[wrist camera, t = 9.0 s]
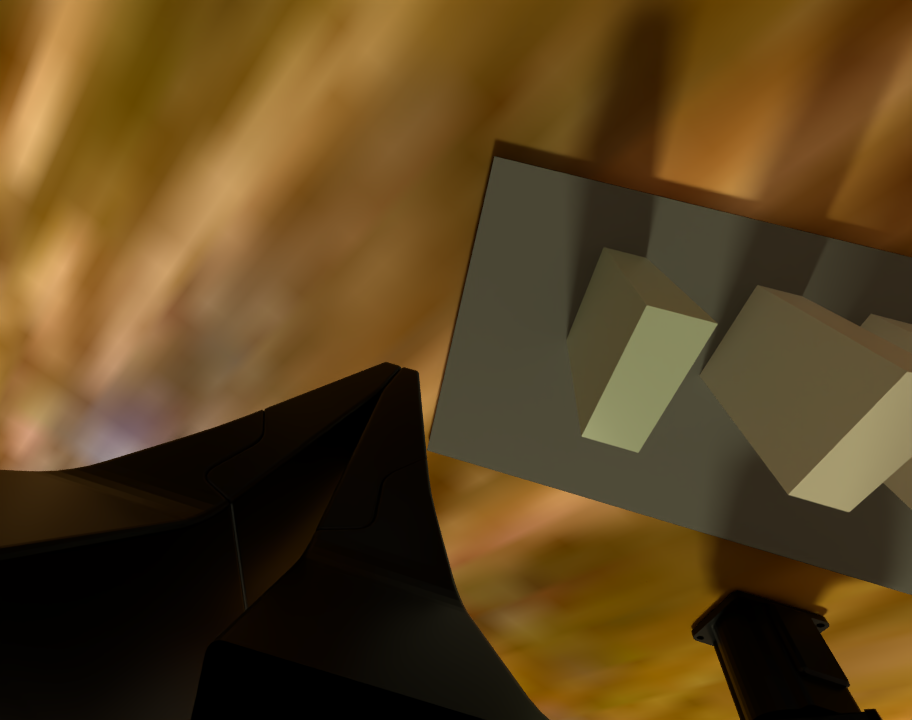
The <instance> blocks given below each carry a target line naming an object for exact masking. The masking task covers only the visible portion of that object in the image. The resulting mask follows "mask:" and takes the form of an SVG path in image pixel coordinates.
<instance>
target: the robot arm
mask: <svg viewBox="0 0 912 720" xmlns="http://www.w3.org/2000/svg"><path fill="white" fill-rule="evenodd" d="M828 627H829V623H828V622H827V620H826V619H825V617H823V616H821V615H817V614H814V613H811V612H808V611H804V610H801V609H798V608H795V607H791V606H788V605H785V604H781V603H778V602H775V601H772V600H768V599H765V598H762V597H759V596H755V595H752V594H749V593H746V592H742V591H736V592H733V593H731V594H730V595H729V596H728V597H727V598H726V599H725V600H724V601H723V602H722V603H721V604H720V605H719V606H718V607H716V608H715V609H714V610H713V611H712V612H711V613H710V614H709V615H708V616H707V617H706V618H705V619H704V620H703V621H702V622H700V623H699V624H698V625H697V626H696V627H695V628H694V629H693V630H692V631H691V632H692V635H693V638H694V639H695V640H696V641H699V642H703V643H706V644H709V645H712V646H714V648H715V651H716V654H717V656H718V659H719V662H720V665H721V667H722V670H723V673H724V676H725V678H726V681H727V684H728V687H729V690H730V692H731V695H732V698H733V701H734V703H735V706H736V709H737V712H738V714H739V717H740V720H883V719H882V718H881V717H880V715H879V714H878V712H877V711H876V709H864V711H865V712H861V711H860V709H859V707H858V705H857V704H856V702H855V700H854V699H853V697H852V695H851V693H850V692H849V690H848V687H849V686H850V684H849V681H848V679H847V677H846V676H845V674H844V672H843V671H842V669H841V667H840V666H839V664H838V662H837V661H836V659H835V657H834V656H833V654H832V652H831V651H830V649H829V647H828V645H827V644H826V642H825V640H824V639H823V637H822V635H821V634H820V633H821V632H822V631H824V630H825V629H827V628H828ZM0 720H549V719H548V718H547V717H546V716H545V715H544V714H543V713H541V712H540V710H539V709H538V708H537V707H536V706H535V705H534V703H533V702H532V701H531V700H530V699H529V698H528V696H527V695H526V693H525V692H524V691H523V689H522V688H521V686H520V685H519V684H518V682H517V681H516V679H515V678H514V677H513V675H512V674H511V672H510V671H509V670H508V668H507V667H506V666H505V664H504V663H503V661H502V660H501V659H500V657H499V656H498V654H497V653H496V652H495V650H494V649H493V647H492V646H491V645H490V643H489V642H488V640H487V639H486V638H485V636H484V635H483V634H482V632H481V631H480V629H479V628H478V627H477V625H476V624H475V622H474V621H473V620H472V618H471V617H470V615H469V614H468V612H467V611H466V609H465V607H464V605H463V603H462V601H461V598H460V596H459V593H458V591H457V588H456V585H455V582H454V578H453V575H452V572H451V568H450V564H449V560H448V557H447V553H446V549H445V546H444V542H443V538H442V535H441V531H440V527H439V524H438V520H437V516H436V512H435V508H434V503H433V499H432V494H431V488H430V481H429V474H428V464H427V455H426V445H425V434H424V423H423V413H422V402H421V392H420V381H419V373H418V371H415V370H412V369H408V368H405V367H403V368H401V367H400V366H398V365H395V364H391V363H388V362H385V363H382V364H379V365H376V366H374V367H371V368H369V369H366V370H364V371H361V372H358V373H356V374H353V375H351V376H348V377H345V378H343V379H340V380H338V381H335V382H333V383H330V384H327V385H325V386H322V387H320V388H317V389H315V390H312V391H309V392H307V393H304V394H302V395H299V396H297V397H294V398H291V399H289V400H286V401H284V402H281V403H279V404H276V405H273V406H271V407H268V408H266V409H265V410H264V411H263V410H260V411H258V412H255V413H252V414H250V415H247V416H245V417H242V418H239V419H236V420H234V421H231V422H228V423H225V424H223V425H220V426H217V427H214V428H211V429H208V430H205V431H202V432H199V433H196V434H192V435H189V436H186V437H183V438H180V439H176V440H173V441H170V442H167V443H163V444H160V445H157V446H154V447H150V448H147V449H144V450H140V451H137V452H134V453H131V454H127V455H124V456H121V457H118V458H114V459H111V460H108V461H104V462H101V463H97V464H93V465H90V466H85V467H79V468H74V469H66V470H58V471H14V470H0Z"/></svg>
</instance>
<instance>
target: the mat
mask: <svg viewBox="0 0 912 720" xmlns="http://www.w3.org/2000/svg"><path fill="white" fill-rule="evenodd" d="M604 247H605V248H609V249H613V250H617V251H621V252H625V253H629V254H633V255H637V256H641V257H645V258H647V259H648V260H649V261H650V262H651V263H652V264H654V265H655V266H656V267H657V268H658V269H659V270H660V271H661V272H662V273H663V274H664V275H666V276H667V277H668V278H669V279H670V280H671V281H672V282H673V283H674V284H675V285H676V286H677V287H679V288H680V289H681V290H682V291H683V292H684V293H685V294H686V295H687V296H688V297H689V298H691V299H692V300H693V301H694V302H695V303H696V304H697V305H698V306H699V307H700V308H701V309H703V310H704V311H705V312H706V313H707V314H708V315H709V316H710V317H711V318H712V319H713V320H715V321H716V322H717V323H718V325H717V326H716V328H715V329H714V331H713V333H712V334H711V336H710V338H709V339H708V341H707V342H706V344H705V346H704V347H703V349H702V351H701V352H700V354H699V355H698V357H697V359H696V360H695V362H694V364H693V365H692V367H691V368H690V370H689V372H688V373H687V375H686V376H685V378H684V380H683V381H682V383H681V385H680V386H679V388H678V389H677V391H676V393H675V394H674V396H673V398H672V399H671V401H670V402H669V404H668V406H667V407H666V409H665V411H664V412H663V414H662V415H661V417H660V419H659V420H658V422H657V423H656V425H655V427H654V428H653V430H652V432H651V433H650V435H649V436H648V438H647V440H646V441H645V443H644V445H643V446H642V448H641V449H640V451H639V453H637V452H634V451H630V450H627V449H623V448H620V447H616V446H613V445H609V444H606V443H602V442H599V441H595V440H592V439H589V438H585V437H582V436H581V430H580V424H579V418H578V411H577V405H576V398H575V392H574V386H573V379H572V373H571V367H570V360H569V354H568V348H567V341H566V340H567V337H568V335H569V332H570V330H571V327H572V325H573V322H574V320H575V317H576V315H577V312H578V310H579V307H580V305H581V302H582V300H583V297H584V295H585V292H586V290H587V288H588V285H589V283H590V280H591V278H592V275H593V273H594V270H595V268H596V265H597V263H598V260H599V258H600V255H601V253H602V250H603V248H604ZM757 285H759V286H763V287H767V288H771V289H775V290H779V291H783V292H787V293H791V294H795V295H799V296H803V297H804V298H806V299H808V300H810V301H812V302H814V303H816V304H818V305H820V306H822V307H824V308H825V309H827V310H829V311H831V312H833V313H835V314H837V315H839V316H841V317H843V318H845V319H847V320H848V321H850V322H852V323H854V324H856V325H858V326H861V325H862V324H863V323H864V321H865V320H866V319H867V318H868V317H869V315H870V314H874V315H878V316H882V317H886V318H889V319H893V320H897V321H901V322H905V323H909V324H912V257H908V256H904V255H899V254H895V253H891V252H887V251H883V250H879V249H875V248H871V247H866V246H862V245H858V244H854V243H850V242H846V241H842V240H838V239H834V238H829V237H825V236H821V235H817V234H813V233H809V232H805V231H801V230H796V229H792V228H788V227H784V226H780V225H776V224H772V223H768V222H764V221H759V220H755V219H751V218H747V217H743V216H739V215H735V214H731V213H727V212H722V211H718V210H714V209H710V208H706V207H702V206H698V205H694V204H689V203H685V202H681V201H677V200H673V199H669V198H665V197H661V196H657V195H652V194H648V193H644V192H640V191H636V190H632V189H628V188H624V187H620V186H615V185H611V184H607V183H603V182H599V181H595V180H591V179H587V178H582V177H578V176H574V175H570V174H566V173H562V172H558V171H554V170H550V169H545V168H541V167H537V166H533V165H529V164H525V163H521V162H517V161H512V160H508V159H504V158H500V157H496V156H494V160H493V165H492V169H491V173H490V178H489V182H488V187H487V191H486V195H485V200H484V204H483V208H482V213H481V217H480V222H479V226H478V230H477V235H476V239H475V243H474V248H473V252H472V257H471V261H470V265H469V270H468V274H467V278H466V283H465V287H464V292H463V296H462V300H461V305H460V309H459V313H458V318H457V322H456V327H455V331H454V335H453V340H452V344H451V348H450V353H449V357H448V361H447V366H446V370H445V375H444V379H443V383H442V388H441V392H440V396H439V401H438V405H437V410H436V414H435V418H434V423H433V427H432V431H431V436H430V440H429V445H428V449H427V450H428V451H432V452H435V453H438V454H442V455H445V456H448V457H452V458H455V459H459V460H462V461H465V462H469V463H472V464H475V465H479V466H482V467H485V468H489V469H492V470H495V471H499V472H502V473H505V474H509V475H512V476H515V477H519V478H522V479H526V480H529V481H532V482H536V483H539V484H542V485H546V486H549V487H552V488H556V489H559V490H562V491H566V492H569V493H572V494H576V495H579V496H582V497H586V498H589V499H593V500H596V501H599V502H603V503H606V504H609V505H613V506H616V507H619V508H623V509H626V510H629V511H633V512H636V513H639V514H643V515H646V516H649V517H653V518H656V519H660V520H663V521H666V522H670V523H673V524H676V525H680V526H683V527H686V528H690V529H693V530H696V531H700V532H703V533H706V534H710V535H713V536H716V537H720V538H723V539H727V540H730V541H733V542H737V543H740V544H743V545H747V546H750V547H753V548H757V549H760V550H763V551H767V552H770V553H773V554H777V555H780V556H783V557H787V558H790V559H794V560H797V561H800V562H804V563H807V564H810V565H814V566H817V567H820V568H824V569H827V570H830V571H834V572H837V573H840V574H844V575H847V576H850V577H854V578H857V579H861V580H864V581H867V582H871V583H874V584H877V585H881V586H884V587H887V588H891V589H894V590H897V591H901V592H904V593H907V594H911V595H912V510H911V509H910V508H909V507H908V506H907V505H906V504H905V503H904V502H903V501H902V500H901V499H900V498H899V497H898V496H897V495H896V494H894V493H893V492H892V491H891V490H890V489H889V488H888V487H887V486H886V485H885V484H884V483H882V484H881V485H880V486H878V487H877V488H876V489H875V490H874V491H873V492H872V493H871V494H869V495H868V496H867V497H866V498H865V499H864V500H863V501H861V502H860V503H859V504H858V505H857V506H856V507H855V508H854V509H852V510H851V511H850V512H846V511H843V510H839V509H836V508H832V507H829V506H825V505H822V504H818V503H815V502H811V501H808V500H805V499H801V498H798V497H794V496H791V495H788V494H787V493H786V491H785V490H784V489H783V487H782V486H781V485H780V483H779V482H778V481H777V479H776V478H775V477H774V475H773V474H772V473H771V471H770V470H769V469H768V467H767V466H766V464H765V463H764V462H763V460H762V459H761V458H760V456H759V455H758V454H757V452H756V451H755V450H754V448H753V447H752V446H751V444H750V443H749V442H748V440H747V439H746V438H745V436H744V435H743V434H742V432H741V431H740V430H739V428H738V427H737V425H736V424H735V423H734V421H733V420H732V419H731V417H730V416H729V415H728V413H727V412H726V411H725V409H724V408H723V407H722V405H721V404H720V403H719V401H718V400H717V399H716V397H715V396H714V395H713V393H712V392H711V391H710V389H709V388H708V386H707V385H706V384H705V382H704V381H703V380H702V378H701V377H700V376H699V375H700V374H701V372H702V371H703V369H704V367H705V366H706V364H707V363H708V361H709V360H710V358H711V356H712V355H713V353H714V352H715V350H716V349H717V347H718V346H719V344H720V342H721V341H722V339H723V338H724V336H725V335H726V333H727V331H728V330H729V328H730V327H731V325H732V324H733V322H734V321H735V319H736V317H737V316H738V314H739V313H740V311H741V310H742V308H743V306H744V305H745V303H746V302H747V300H748V299H749V297H750V296H751V294H752V292H753V291H754V289H755V288H756V286H757Z"/></svg>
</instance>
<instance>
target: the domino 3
mask: <svg viewBox="0 0 912 720" xmlns="http://www.w3.org/2000/svg"><path fill="white" fill-rule="evenodd" d="M860 327H862V328H864V329H866V330H868V331H870V332H871V333H873V334H875V335H877V336H879V337H881V338H883V339H885V340H887V341H889V342H891V343H892V344H894V345H896V346H898V347H900V348H902V349H904V350H906V351H908V352H910V353H912V324H909V323H905V322H901V321H897V320H893V319H889V318H886V317H882V316H878V315H874V314H870V315H869V317H868V318H867V319H866V320H865V321H864V323H863V324H862V325H861V326H860ZM883 483H884V484H885V485H886V486H887V487H888V488H889V489H890V490H891V491H892V492H893V493H894V494H896V495H897V496H898V497H899V498H900V499H901V500H902V501H903V502H904V503H905V504H906V505H907V506H908V507H909V508H910V509H911V510H912V457H911V458H910V459H909V460H908V461H907V462H906V463H904V464H903V465H902V466H901V467H900V468H899V469H898V470H897V471H895V472H894V473H893V474H892V475H891V476H890V477H889V478H887V479H886V480H885V481H884V482H883Z"/></svg>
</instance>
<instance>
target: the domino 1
mask: <svg viewBox="0 0 912 720" xmlns="http://www.w3.org/2000/svg"><path fill="white" fill-rule="evenodd" d="M717 325H718V323H717V322H716V321H715V320H713V319H712V318H711V317H710V316H709V315H708V314H707V313H706V312H705V311H704V310H703V309H701V308H700V307H699V306H698V305H697V304H696V303H695V302H694V301H693V300H692V299H691V298H689V297H688V296H687V295H686V294H685V293H684V292H683V291H682V290H681V289H680V288H679V287H677V286H676V285H675V284H674V283H673V282H672V281H671V280H670V279H669V278H668V277H667V276H666V275H664V274H663V273H662V272H661V271H660V270H659V269H658V268H657V267H656V266H655V265H654V264H652V263H651V262H650V261H649V260H648V259H647V258H645V257H641V256H637V255H633V254H629V253H625V252H621V251H617V250H613V249H609V248H605V247H604V248H603V250H602V253H601V255H600V258H599V260H598V263H597V265H596V268H595V270H594V273H593V275H592V278H591V280H590V283H589V285H588V288H587V290H586V292H585V295H584V297H583V300H582V302H581V305H580V307H579V310H578V312H577V315H576V317H575V320H574V322H573V325H572V327H571V330H570V332H569V335H568V337H567V340H566V341H567V348H568V354H569V360H570V367H571V373H572V379H573V386H574V392H575V398H576V405H577V411H578V418H579V424H580V430H581V436H582V437H585V438H589V439H592V440H595V441H599V442H602V443H606V444H609V445H613V446H616V447H620V448H623V449H627V450H630V451H634V452H637V453H639V451H640V449H641V448H642V446H643V445H644V443H645V441H646V440H647V438H648V436H649V435H650V433H651V432H652V430H653V428H654V427H655V425H656V423H657V422H658V420H659V419H660V417H661V415H662V414H663V412H664V411H665V409H666V407H667V406H668V404H669V402H670V401H671V399H672V398H673V396H674V394H675V393H676V391H677V389H678V388H679V386H680V385H681V383H682V381H683V380H684V378H685V376H686V375H687V373H688V372H689V370H690V368H691V367H692V365H693V364H694V362H695V360H696V359H697V357H698V355H699V354H700V352H701V351H702V349H703V347H704V346H705V344H706V342H707V341H708V339H709V338H710V336H711V334H712V333H713V331H714V329H715V328H716V326H717Z"/></svg>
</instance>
